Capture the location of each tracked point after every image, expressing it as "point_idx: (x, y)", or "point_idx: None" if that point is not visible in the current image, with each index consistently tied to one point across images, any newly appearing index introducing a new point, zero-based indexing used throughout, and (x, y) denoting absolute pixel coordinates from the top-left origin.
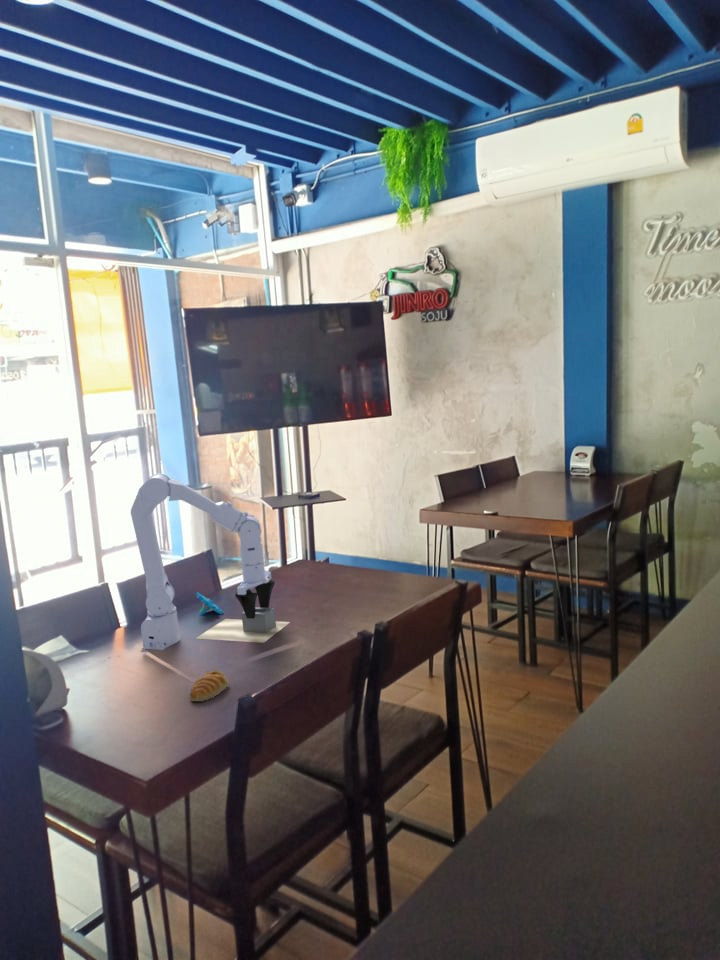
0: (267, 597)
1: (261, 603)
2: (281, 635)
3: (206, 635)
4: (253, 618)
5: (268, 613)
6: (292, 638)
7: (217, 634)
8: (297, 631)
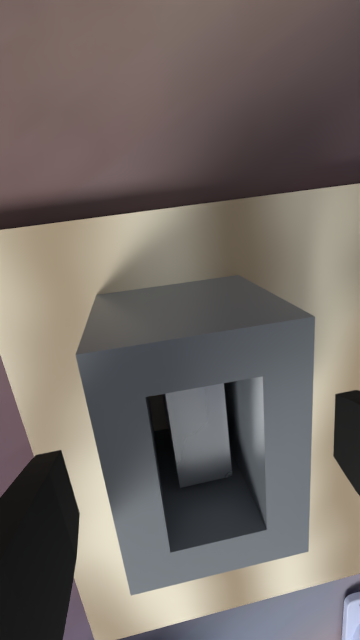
0: (5, 584)
1: (65, 560)
2: (182, 180)
3: (333, 556)
4: (356, 391)
5: (229, 323)
6: (216, 40)
7: (313, 524)
8: (63, 89)
